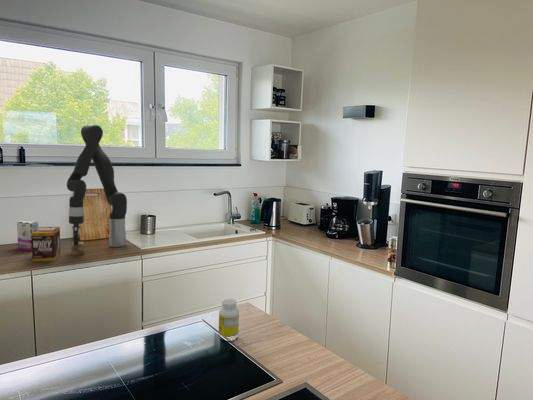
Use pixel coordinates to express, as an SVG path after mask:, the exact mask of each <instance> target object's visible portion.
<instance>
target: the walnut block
mask: <svg viewBox="0 0 533 400" xmlns="http://www.w3.org/2000/svg"><path fill="white" fill-rule="evenodd" d="M70 246H71V247H70V248H71V256H80V255H84V251H85V249H84V241H78V245H74V241H73V242H71V245H70Z"/></svg>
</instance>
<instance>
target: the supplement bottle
mask: <svg viewBox="0 0 533 400" xmlns="http://www.w3.org/2000/svg"><path fill="white" fill-rule="evenodd" d="M221 304H222V305H221V306H222V307H221V308H220V309H219V312H218V335H219V334H220V335H222V336H225V337H231V336H235V335H237V334H238V335H239V325H240V324H239V322H240V321H239V320H240V311H239V308H238V307H237V301H236V299H233V298H232V299H231V298H228V299H227V298H226V299H224V300H222V303H221Z"/></svg>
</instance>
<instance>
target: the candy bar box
mask: <svg viewBox="0 0 533 400" xmlns="http://www.w3.org/2000/svg"><path fill="white" fill-rule="evenodd" d="M16 226H17V229H16V230H17V233H16V234H17V249H18V250H23V251H26V252H27V251H28V252H32V235H31V233H32V232H33V231H35V230H36V229H37V228H39V221H34V220H33V221H32V220H26V219H25V220H19V221H18V220H17V221H16Z"/></svg>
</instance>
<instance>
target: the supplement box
mask: <svg viewBox="0 0 533 400" xmlns="http://www.w3.org/2000/svg"><path fill="white" fill-rule="evenodd" d="M31 235H32V251H31V255H32V258H31V259H32V262H54V261H55V260H56V259H57V257H59V256H60V254H61V227H60V226H38V228H37V229H36V230H35V231H33V232H32V233H31Z"/></svg>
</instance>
